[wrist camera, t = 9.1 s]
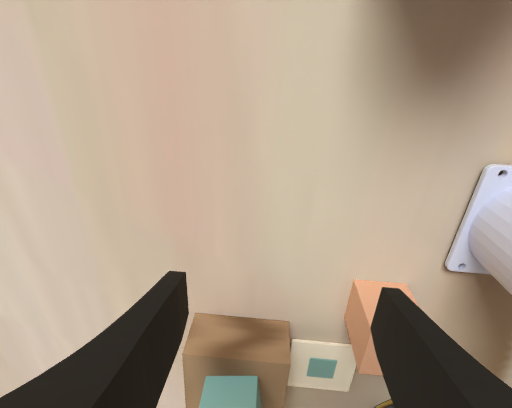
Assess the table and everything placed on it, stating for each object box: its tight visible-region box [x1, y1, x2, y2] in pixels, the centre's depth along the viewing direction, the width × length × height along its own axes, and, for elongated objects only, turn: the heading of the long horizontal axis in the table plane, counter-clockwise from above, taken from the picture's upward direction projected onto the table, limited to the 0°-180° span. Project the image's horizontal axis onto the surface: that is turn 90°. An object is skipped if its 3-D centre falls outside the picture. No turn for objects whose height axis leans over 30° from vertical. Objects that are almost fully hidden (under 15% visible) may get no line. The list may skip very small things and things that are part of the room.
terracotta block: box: [344, 280, 419, 375], centre depth 22 cm, size 4×4×5 cm
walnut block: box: [182, 313, 291, 408], centre depth 26 cm, size 8×8×4 cm
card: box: [287, 339, 356, 392], centre depth 28 cm, size 6×6×1 cm
